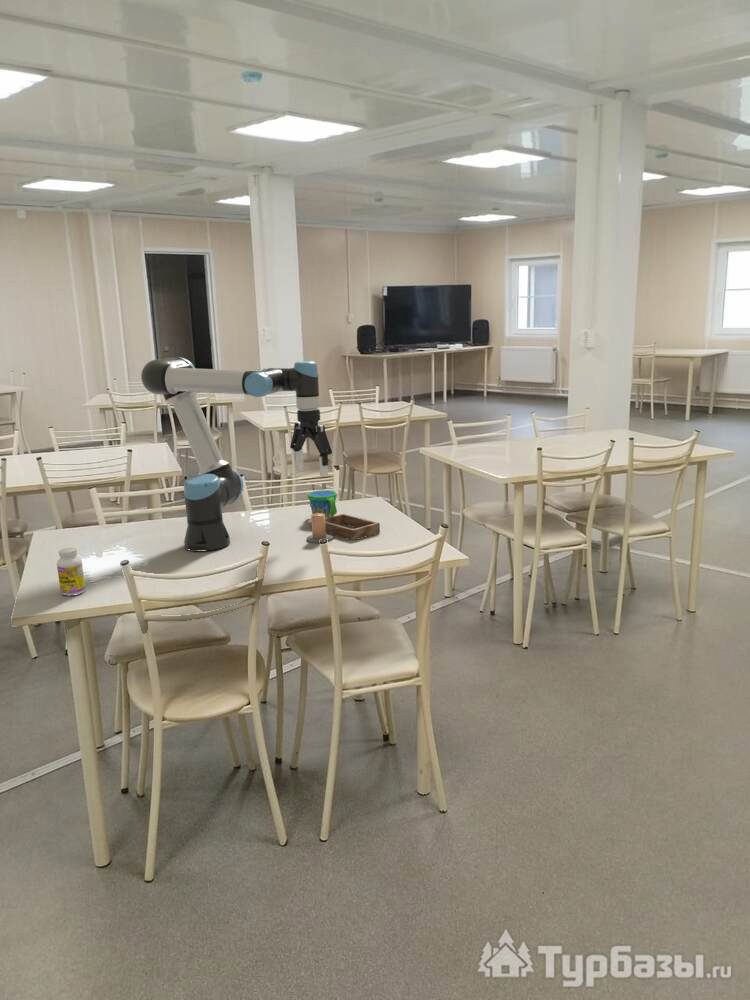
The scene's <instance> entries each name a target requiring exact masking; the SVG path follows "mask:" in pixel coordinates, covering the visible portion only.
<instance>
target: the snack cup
mask: <svg viewBox="0 0 750 1000" xmlns="http://www.w3.org/2000/svg"><path fill="white" fill-rule="evenodd" d="M337 497H338V493H337V492H336V491H334V490H324V489H323V490H315V491H312V492H309V493H308V494H307V498H308V500H309V507H310V509H311V515H312V514H315V513H324V514H325V518H328V517H332V516H336V515H337V512H338V510H337V506H336V499H337Z"/></svg>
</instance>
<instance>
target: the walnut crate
mask: <svg viewBox="0 0 750 1000" xmlns="http://www.w3.org/2000/svg"><path fill="white" fill-rule="evenodd" d="M325 524H326V534H330V535H332V536H337V537H340V538H343V537H344V539H347V538H348V539H347V540H350V539H352V540H351V541H356V540H355V539H357V540H359V539H358V538H360V539H363V538H362V537H364V538H366V537H365V536H367V537H369V536H368V535H370V536H373V535H372V534H374V535H376V534H375V533H377V534H379V532H380V533H381V530H380V529H381V526H380V522H377V521H373V520H369V519H366V518H363V517H362V518H361V517H359V516H358V517H357V516H353V515H350V514H346V513H340V514H335V515H334V516H332V517H328V518H325ZM345 524H346V526H349V525H350V526H349V527H346V526H342V525H345ZM352 526H354V527H353V528H350V527H352ZM356 527H357V528H356Z"/></svg>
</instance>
